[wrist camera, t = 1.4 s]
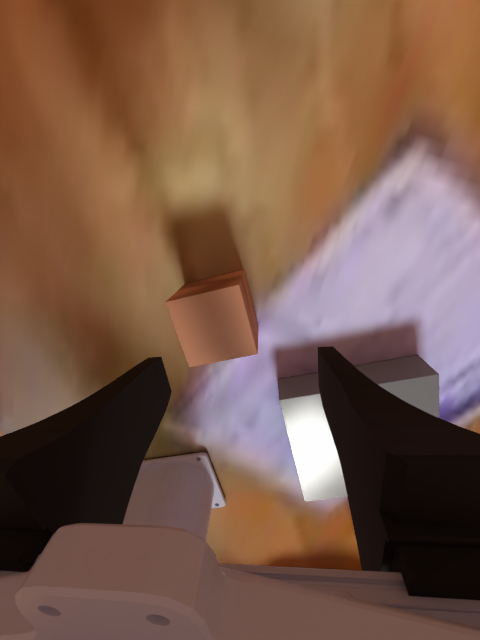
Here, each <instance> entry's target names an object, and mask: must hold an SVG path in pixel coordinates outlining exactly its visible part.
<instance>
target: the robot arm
mask: <svg viewBox="0 0 480 640" xmlns="http://www.w3.org/2000/svg"><path fill="white" fill-rule="evenodd" d="M318 383H319V391H320V396H321V401H322V406H323V409H324V412H325V415H326V419H327V422H328V425H329V428H330V431H331V434H332V437H333V440H334V443H335V446H336V449H337V452H338V456H339V460H340V463H341V468H342V473H343V477H344V482H345V486H346V491H347V496H348V501H349V505H350V510H351V515H352V520H353V525H354V530H355V535H356V540H357V545H358V551H359V556H360V561H361V567H362V571H359V570H339V569H319V568H300V567H280V566H261V565H241V564H221V563H218V562H217V558H216V555H215V553H214V552H213V550H212V549H211V547H210V546H209V545H208V544H207V542H206V538H207V532H208V526H209V520H210V514H211V508H219V507H224V506H225V505H226V500H225V498H224V495H223V492H222V490H221V487H220V485H219V482H218V480H217V477H216V475H215V472H214V470H213V467H212V464H211V462H210V459H209V457H208V455H207V454H206V453H204V452H201V453H194V454H187V455H179V456H172V457H165V458H158V459H151V460H144V457H145V455H146V453H147V450H148V448H149V446H150V444H151V442H152V440H153V438H154V435H155V433H156V431H157V429H158V427H159V425H160V422H161V420H162V418H163V416H164V414H165V411H166V408H167V405H168V402H169V399H170V395H171V388H170V385H169V382H168V378H167V375H166V371H165V368H164V364H163V361H162V358H161V357H152V358H148V359H146V360H144V361H142V362H141V363H139V364H138V365H136V366H135V367H133V368H132V369H130V370H129V371H127V372H126V373H125V374H123V375H122V376H120V377H119V378H117V379H116V380H114V381H113V382H111V383H110V384H108V385H107V386H105V387H103V388H102V389H100V390H99V391H97V392H96V393H94V394H92V395H91V396H89V397H87V398H85V399H84V400H82V401H80V402H78V403H76V404H75V405H73V406H71V407H69V408H67V409H65V410H63V411H61V412H59V413H57V414H54V415H52V416H50V417H48V418H46V419H44V420H42V421H39V422H37V423H35V424H32V425H30V426H27V427H25V428H22V429H20V430H17V431H14V432H12V433H9V434H6V435H4V436H1V437H0V640H480V434H478V433H476V432H473V431H470V430H467V429H464V428H462V427H459V426H457V425H454V424H452V423H449V422H447V421H445V420H442V419H440V418H438V417H435V416H433V415H431V414H429V413H427V412H425V411H423V410H421V409H419V408H417V407H415V406H413V405H411V404H409V403H407V402H405V401H403V400H402V399H400V398H398V397H397V396H395V395H393V394H392V393H390V392H388V391H387V390H385V389H384V388H382V387H381V386H379V385H378V384H376V383H375V382H374V381H372V380H371V379H369V378H368V377H367V376H365V375H364V374H363V373H362V372H360V371H359V370H358V369H357V368H356V367H354V366H353V365H352V364H351V363H350V362H349V361H348V360H347V359H346V358H344V357H343V356H342V355H341V354H340V353H339V352H338V351H337V350H336V349H335V348H334V347H333V346H332V347H318ZM198 457H199V458H198Z"/></svg>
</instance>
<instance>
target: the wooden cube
mask: <svg viewBox="0 0 480 640" xmlns="http://www.w3.org/2000/svg"><path fill="white" fill-rule="evenodd" d="M165 303H166V305H167V308H168V311H169V313H170V316H171V319H172V321H173V324H174V327H175V330H176V332H177V335H178V338H179V340H180V343H181V346H182V349H183V351H184V354H185V357H186V359H187V362H188V365H189V367H193V366H198V365H203V364H208V363H214V362H219V361H224V360H229V359H234V358H239V357H245V356H250V355H255V354H258V323H257V319H256V315H255V311H254V307H253V303H252V299H251V295H250V291H249V287H248V283H247V279H246V276H245V272H244V270H240V271H236V272H232V273H228V274H224V275H220V276H215V277H211V278H207V279H203V280H199V281H195V282H191V283H187V284H184V285H183V286H182V287H181V288H180V289H179V290H178V291H177V292H176V293H175V294H174V295H173V296H172V297H171V298H169V299H168V300H167V301H166V302H165Z"/></svg>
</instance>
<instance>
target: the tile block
mask: <svg viewBox="0 0 480 640" xmlns="http://www.w3.org/2000/svg"><path fill="white" fill-rule="evenodd" d="M354 367H356V368H357V369H358V370H359V371H360V372H362V373H363V374H364V375H365V376H367V377H368V378H369V379H371V380H372V381H374V382H375V383H376V384H378V385H379V386H381V387H382V388H384V389H385V390H387V391H388V392H390V393H392V394H393V395H395V396H397V397H398V398H400V399H402V400H403V401H405V402H407V403H409V404H411V405H413V406H415V407H417V408H419V409H421V410H423V411H425V412H427V413H429V414H431V415H433V416H435V417H438V418H439V374H438V373H437V372H436V371H435V370H434V369H433V368H431V367H430V366H429V365H428V364H427V363H426V362H425V361H424V360H423V359H422V358H421V357H419V356H418V355H414V356H408V357H402V358H397V359H391V360H385V361H380V362H374V363H368V364H363V365H357V366H354ZM278 390H279V401H280V405H281V409H282V412H283V416H284V420H285V424H286V428H287V432H288V436H289V440H290V444H291V448H292V452H293V456H294V460H295V464H296V468H297V472H298V476H299V480H300V484H301V488H302V492H303V496H304V500H305V501H314V500H324V499H333V498H343V497H348V496H347V491H346V486H345V482H344V477H343V473H342V468H341V463H340V460H339V456H338V452H337V449H336V446H335V443H334V440H333V437H332V434H331V431H330V428H329V425H328V422H327V419H326V415H325V412H324V409H323V406H322V401H321V396H320V391H319V383H318V372H317V373H312V374H306V375H300V376H294V377H289V378H283V379H278Z"/></svg>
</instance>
